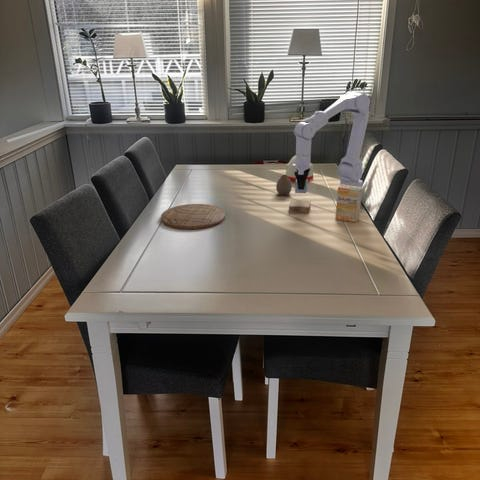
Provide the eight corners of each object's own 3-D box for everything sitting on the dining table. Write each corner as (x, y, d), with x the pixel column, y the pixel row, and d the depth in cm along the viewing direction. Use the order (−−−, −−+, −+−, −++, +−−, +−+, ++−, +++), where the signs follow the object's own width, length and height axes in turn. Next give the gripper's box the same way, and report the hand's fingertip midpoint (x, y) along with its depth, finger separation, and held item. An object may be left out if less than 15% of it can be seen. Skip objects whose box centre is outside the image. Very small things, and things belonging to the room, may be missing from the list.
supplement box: (334, 219, 172) (337, 187, 167) (338, 215, 176) (340, 183, 171) (356, 223, 169) (359, 189, 164) (359, 219, 173) (362, 186, 167)
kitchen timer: (282, 180, 223) (283, 150, 217) (288, 172, 235) (289, 144, 229) (310, 181, 220) (312, 151, 213) (314, 174, 232) (316, 145, 226)
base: (310, 207, 186) (310, 200, 185) (308, 214, 179) (309, 207, 178) (290, 206, 188) (291, 199, 187) (288, 213, 181) (288, 206, 180)
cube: (307, 190, 183) (307, 179, 181) (306, 193, 179) (306, 182, 177) (296, 189, 184) (296, 178, 182) (294, 192, 180) (295, 182, 178)
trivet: (216, 233, 163) (216, 228, 163) (151, 228, 168) (151, 224, 167) (231, 209, 186) (231, 205, 185) (173, 206, 190) (173, 202, 190)
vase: (291, 192, 205) (292, 173, 202) (291, 196, 199) (292, 177, 195) (276, 191, 206) (276, 173, 202) (275, 196, 200) (276, 177, 196)
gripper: (295, 149, 183) (293, 181, 188) (290, 157, 170) (289, 192, 175) (312, 150, 181) (310, 182, 187) (309, 158, 168) (307, 193, 174)
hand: (301, 187), depth 181 cm, fingers closed on cube, 4 cm apart
